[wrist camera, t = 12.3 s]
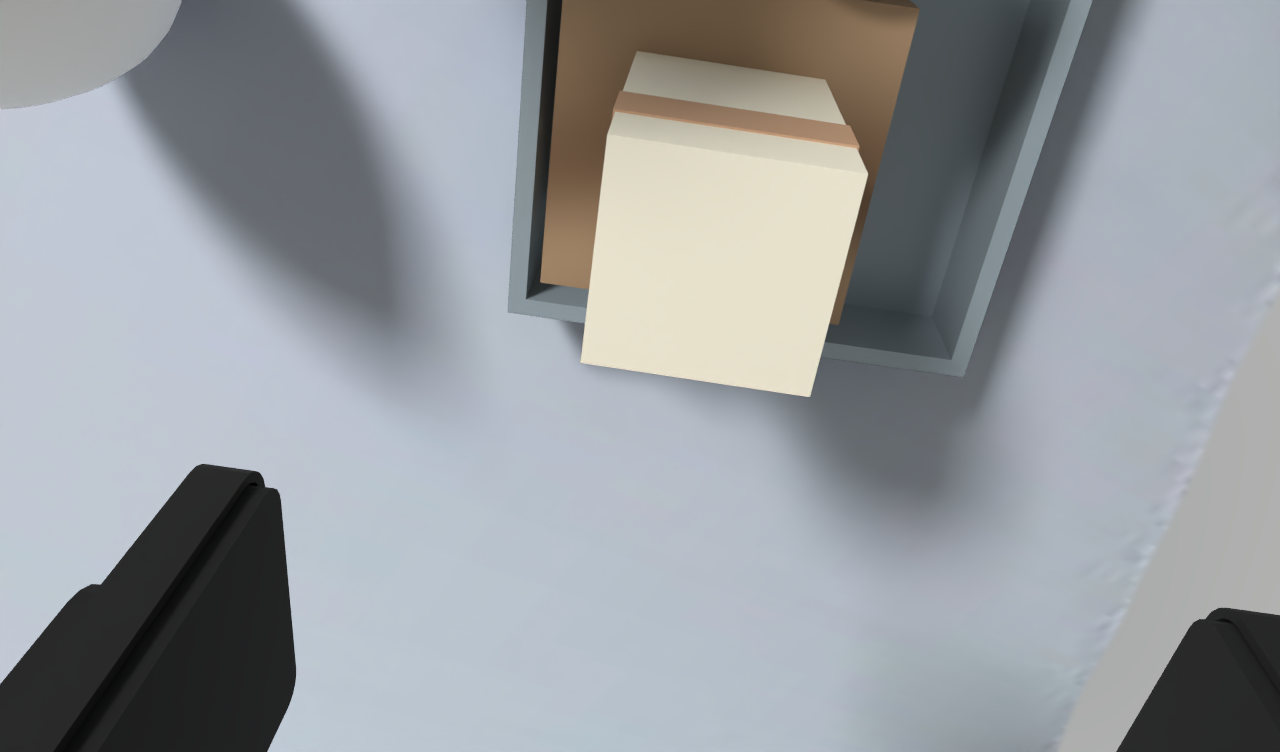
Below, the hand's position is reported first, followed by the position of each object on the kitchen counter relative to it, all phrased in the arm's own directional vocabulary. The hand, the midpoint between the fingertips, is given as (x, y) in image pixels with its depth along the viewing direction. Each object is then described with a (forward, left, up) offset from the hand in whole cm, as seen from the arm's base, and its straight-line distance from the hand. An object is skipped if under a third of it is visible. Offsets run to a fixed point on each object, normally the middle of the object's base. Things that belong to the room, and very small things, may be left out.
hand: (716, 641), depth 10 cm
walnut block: (0, 0, -26) cm, 26 cm away
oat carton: (0, 0, -19) cm, 19 cm away
